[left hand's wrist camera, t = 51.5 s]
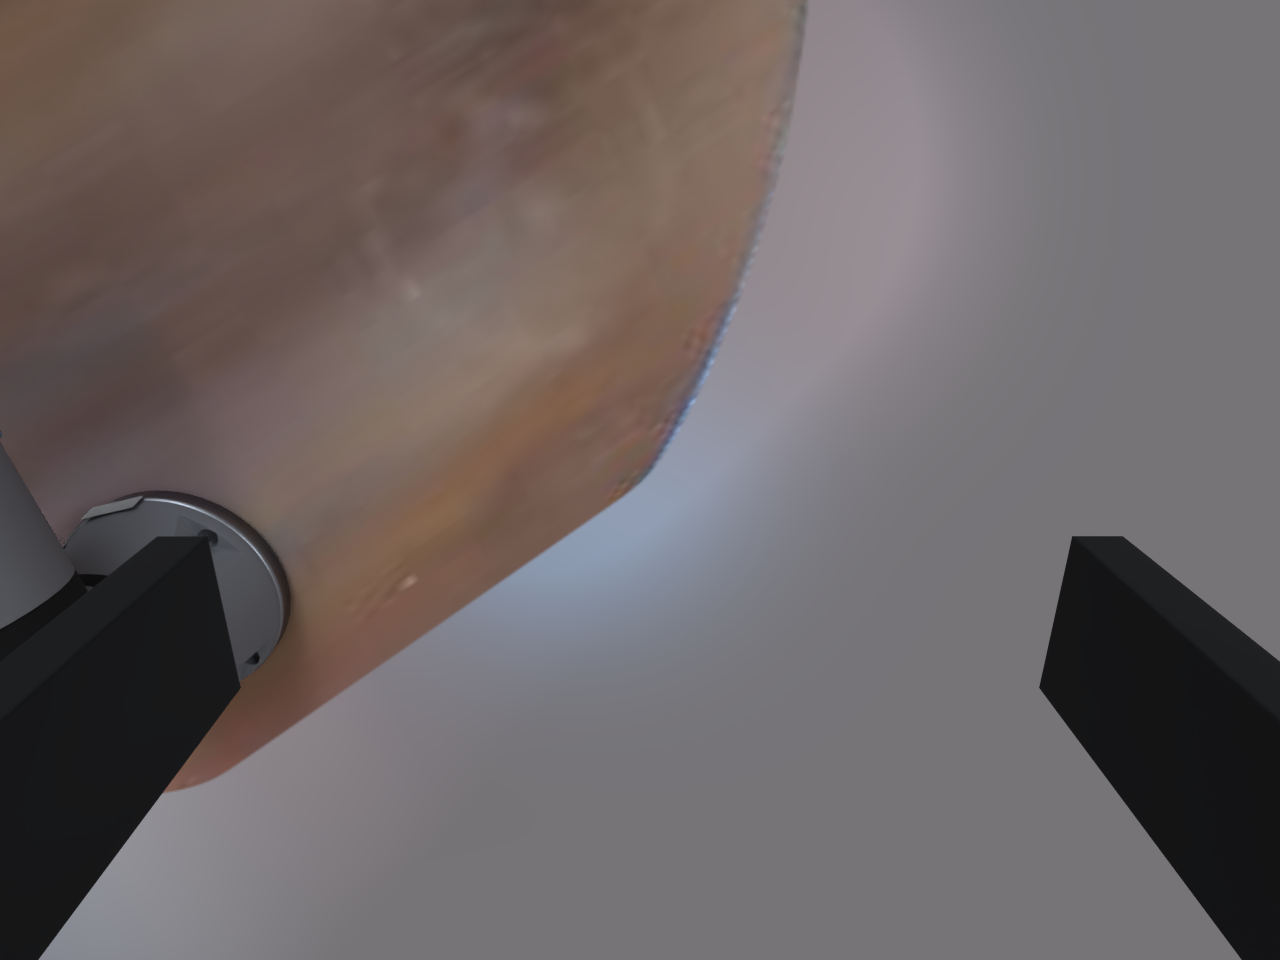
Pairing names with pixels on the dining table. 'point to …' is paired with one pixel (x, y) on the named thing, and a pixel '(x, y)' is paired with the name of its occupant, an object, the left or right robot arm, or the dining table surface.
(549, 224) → the dining table surface
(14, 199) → the dining table surface
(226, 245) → the dining table surface
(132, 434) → the dining table surface
